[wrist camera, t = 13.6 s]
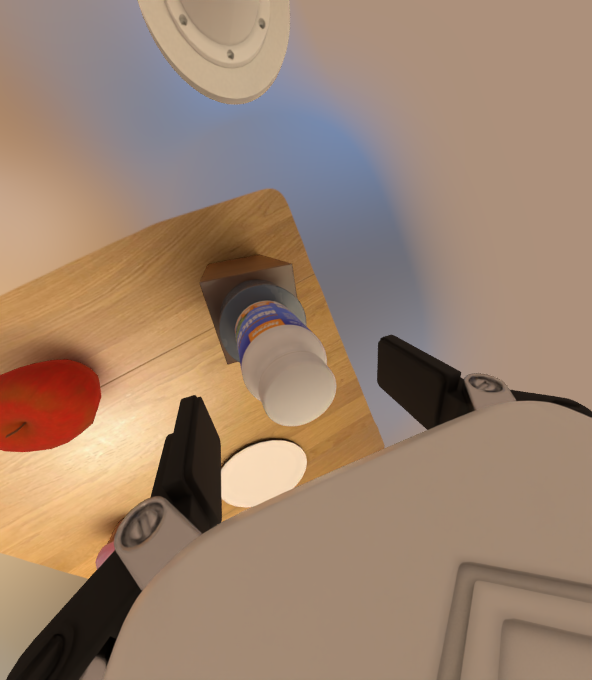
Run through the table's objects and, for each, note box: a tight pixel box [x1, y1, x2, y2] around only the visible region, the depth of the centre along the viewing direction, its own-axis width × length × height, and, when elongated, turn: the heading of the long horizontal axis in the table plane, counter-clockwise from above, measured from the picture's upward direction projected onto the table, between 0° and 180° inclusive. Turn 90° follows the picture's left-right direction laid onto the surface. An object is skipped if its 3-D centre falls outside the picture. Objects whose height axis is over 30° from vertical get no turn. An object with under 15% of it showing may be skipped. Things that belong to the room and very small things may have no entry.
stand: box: [200, 255, 297, 364], centre depth 32 cm, size 9×9×20 cm
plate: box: [221, 440, 307, 507], centre depth 61 cm, size 25×25×1 cm
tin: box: [219, 279, 306, 362], centre depth 21 cm, size 8×8×4 cm
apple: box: [0, 359, 101, 452], centre depth 32 cm, size 12×12×14 cm
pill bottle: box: [235, 301, 336, 426], centre depth 15 cm, size 5×5×10 cm
